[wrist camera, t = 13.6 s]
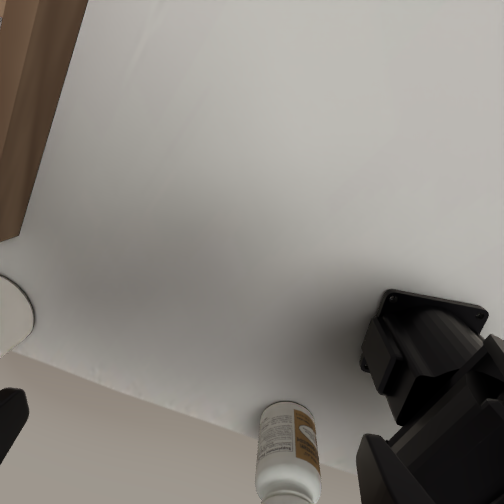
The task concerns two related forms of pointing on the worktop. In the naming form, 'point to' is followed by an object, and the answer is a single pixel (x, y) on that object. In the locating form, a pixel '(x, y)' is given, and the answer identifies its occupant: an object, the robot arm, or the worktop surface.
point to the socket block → (30, 93)
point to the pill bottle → (287, 456)
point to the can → (13, 315)
